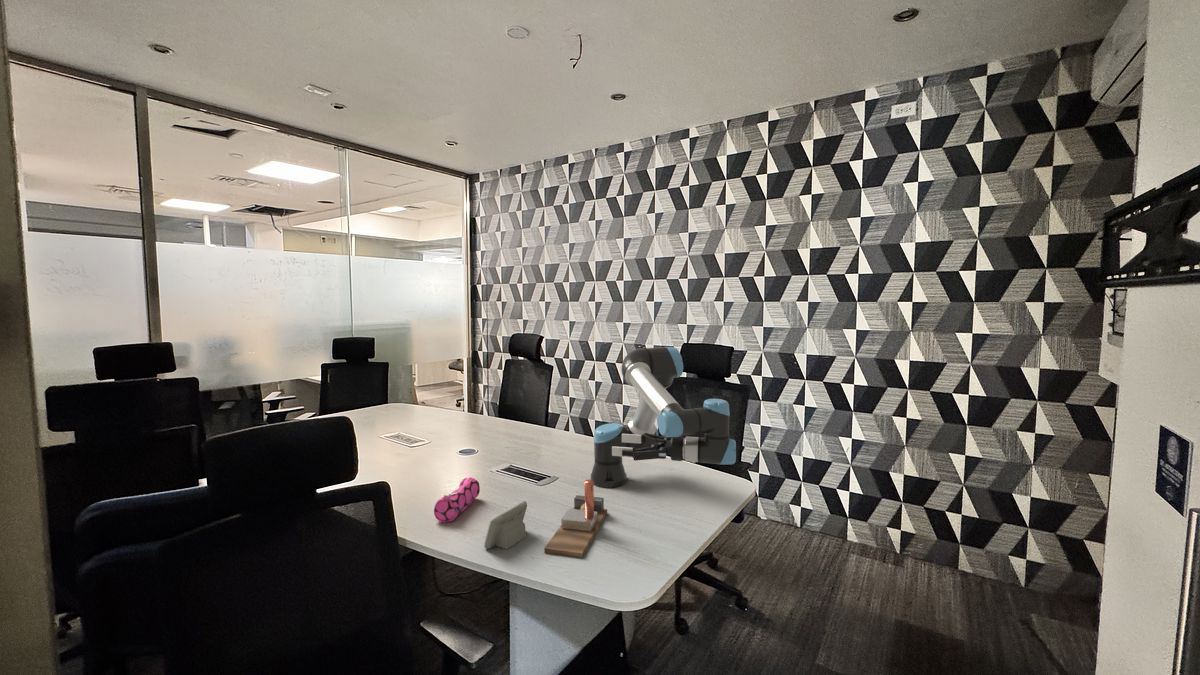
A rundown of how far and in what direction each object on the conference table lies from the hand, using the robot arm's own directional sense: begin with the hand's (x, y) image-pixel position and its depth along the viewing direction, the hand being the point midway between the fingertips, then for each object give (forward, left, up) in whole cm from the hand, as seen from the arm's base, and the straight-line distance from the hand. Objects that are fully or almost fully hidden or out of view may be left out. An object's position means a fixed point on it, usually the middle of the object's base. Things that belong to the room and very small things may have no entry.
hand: (617, 444), depth 153 cm
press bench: (-11, -8, -30) cm, 33 cm away
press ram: (-12, -6, -28) cm, 31 cm away
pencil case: (-55, -26, -30) cm, 68 cm away
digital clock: (-24, -27, -30) cm, 47 cm away
